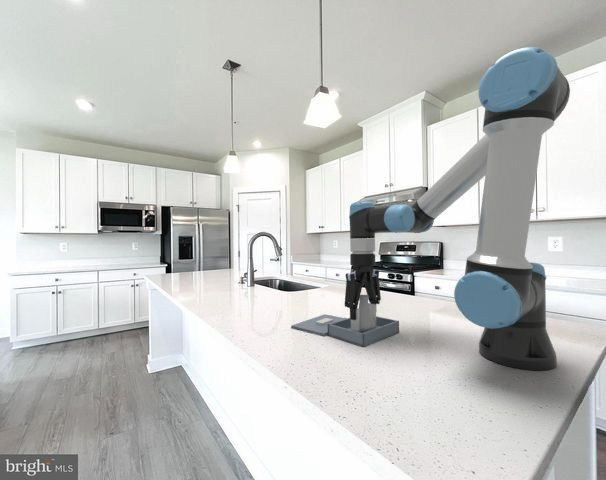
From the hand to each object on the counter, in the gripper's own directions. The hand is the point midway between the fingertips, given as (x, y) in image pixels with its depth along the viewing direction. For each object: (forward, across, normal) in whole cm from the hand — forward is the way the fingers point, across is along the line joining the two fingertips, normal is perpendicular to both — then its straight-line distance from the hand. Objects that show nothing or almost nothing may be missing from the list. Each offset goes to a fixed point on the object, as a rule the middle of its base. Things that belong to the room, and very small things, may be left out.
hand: (363, 327), depth 90 cm
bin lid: (+2, +2, -15) cm, 15 cm away
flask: (0, 0, 0) cm, 0 cm away
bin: (+2, 0, 0) cm, 2 cm away
